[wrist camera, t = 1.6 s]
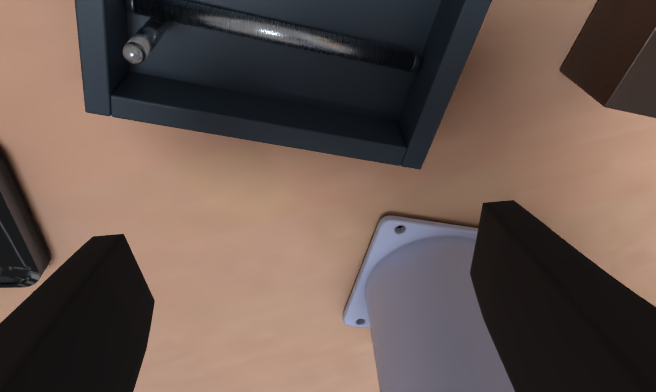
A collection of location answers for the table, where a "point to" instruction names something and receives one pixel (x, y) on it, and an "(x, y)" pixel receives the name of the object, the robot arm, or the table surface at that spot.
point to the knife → (617, 56)
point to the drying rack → (282, 69)
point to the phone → (18, 236)
